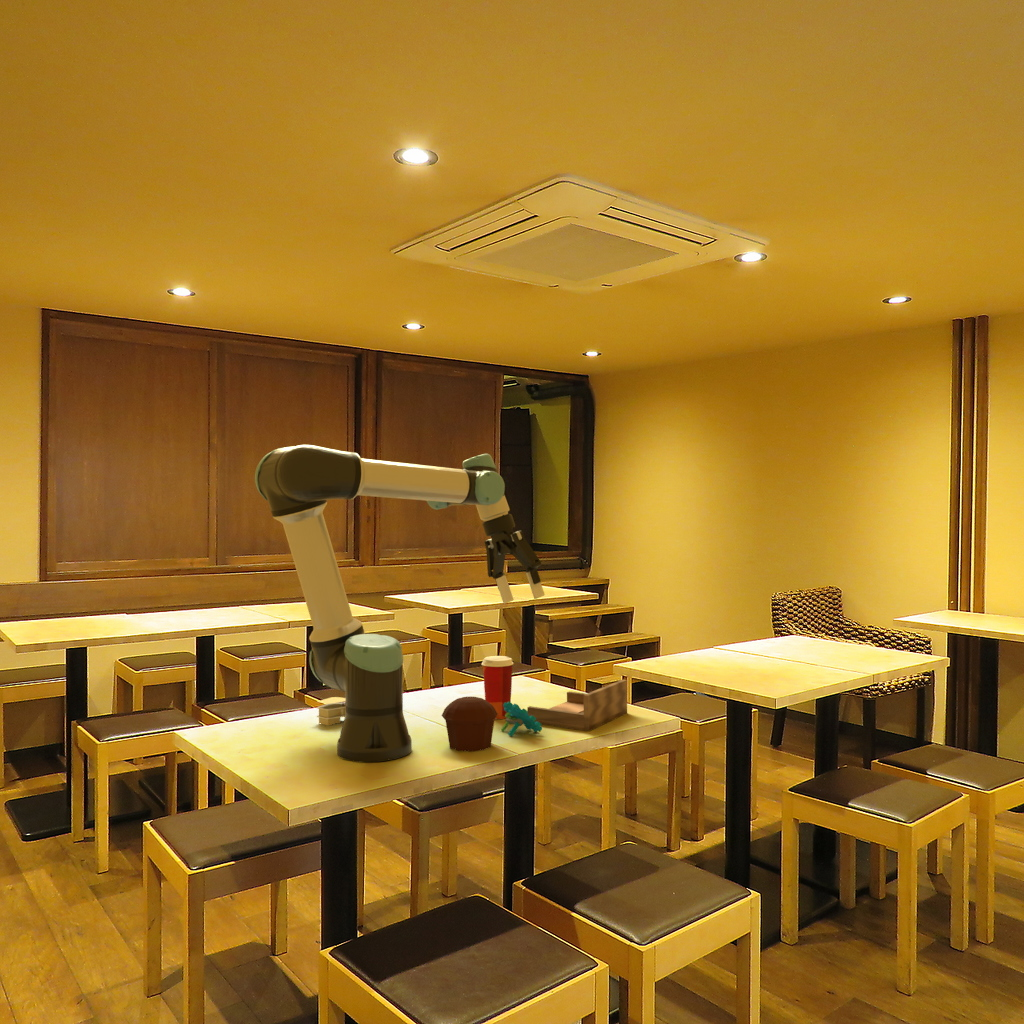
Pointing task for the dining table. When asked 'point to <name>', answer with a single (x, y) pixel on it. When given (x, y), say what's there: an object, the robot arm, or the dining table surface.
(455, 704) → the muffin
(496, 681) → the paper cup
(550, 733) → the dining table surface
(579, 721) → the bay
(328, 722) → the tan layered block
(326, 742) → the dining table surface
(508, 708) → the teal toy figurine
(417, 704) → the dining table surface
